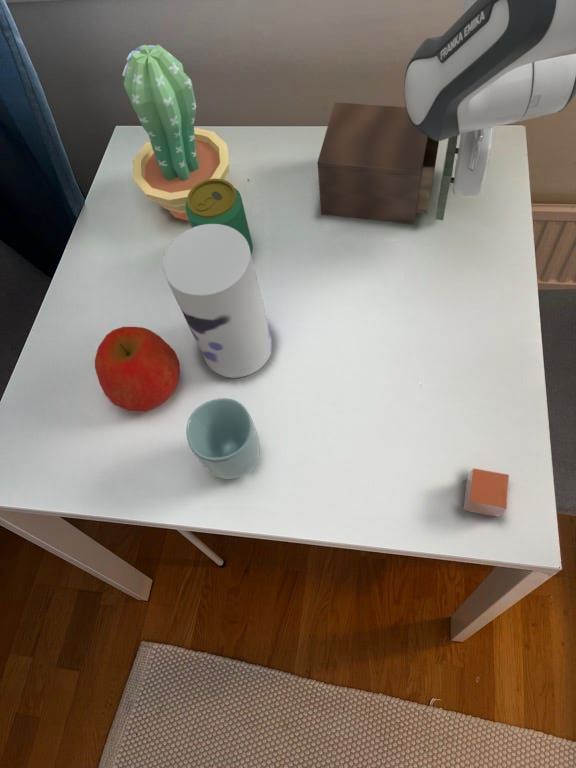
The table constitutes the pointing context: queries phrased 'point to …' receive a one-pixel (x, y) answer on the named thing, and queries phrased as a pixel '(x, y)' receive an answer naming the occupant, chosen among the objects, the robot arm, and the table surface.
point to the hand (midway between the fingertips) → (466, 171)
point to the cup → (223, 438)
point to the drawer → (428, 175)
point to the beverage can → (217, 206)
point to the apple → (136, 368)
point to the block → (486, 492)
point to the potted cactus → (170, 130)
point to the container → (220, 298)
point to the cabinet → (371, 163)
